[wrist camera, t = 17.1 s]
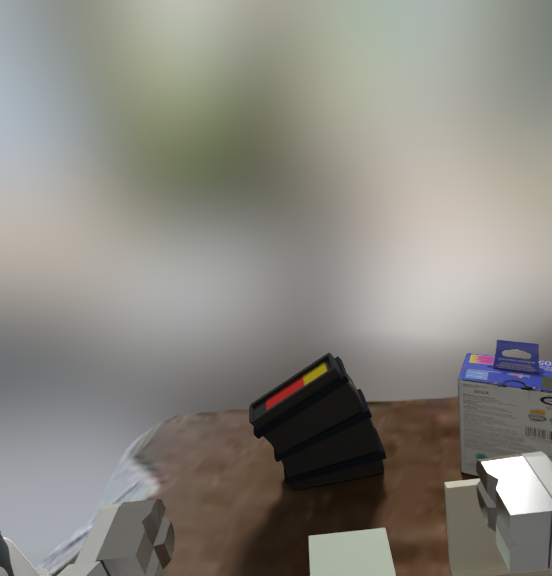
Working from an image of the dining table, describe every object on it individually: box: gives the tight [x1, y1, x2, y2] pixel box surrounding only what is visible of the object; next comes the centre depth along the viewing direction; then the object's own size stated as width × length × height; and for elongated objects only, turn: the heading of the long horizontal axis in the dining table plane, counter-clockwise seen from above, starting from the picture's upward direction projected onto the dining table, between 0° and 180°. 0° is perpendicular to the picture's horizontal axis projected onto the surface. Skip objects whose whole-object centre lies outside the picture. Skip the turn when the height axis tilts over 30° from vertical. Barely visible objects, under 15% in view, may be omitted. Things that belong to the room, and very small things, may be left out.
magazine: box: [249, 353, 386, 490], centre depth 47 cm, size 4×13×15 cm, turn 93°
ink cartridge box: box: [458, 340, 552, 476], centre depth 43 cm, size 10×6×14 cm, turn 60°
